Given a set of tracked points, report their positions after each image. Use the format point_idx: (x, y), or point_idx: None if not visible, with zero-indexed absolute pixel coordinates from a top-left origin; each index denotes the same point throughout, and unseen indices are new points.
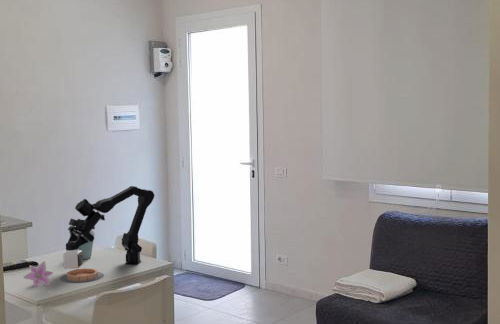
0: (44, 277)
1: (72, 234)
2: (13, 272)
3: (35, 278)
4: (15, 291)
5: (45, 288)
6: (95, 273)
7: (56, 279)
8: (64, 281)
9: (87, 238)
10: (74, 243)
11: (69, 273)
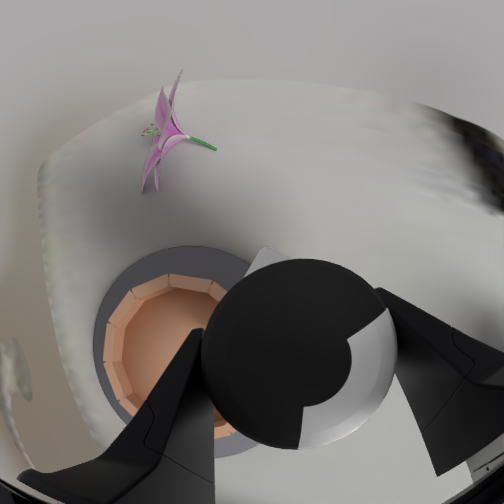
0: (155, 158)
1: (493, 403)
2: (415, 112)
3: (163, 126)
4: (155, 96)
5: (120, 176)
6: (127, 410)
7: (225, 232)
8: (150, 257)
9: (40, 499)
10: (223, 384)
11: (215, 298)
